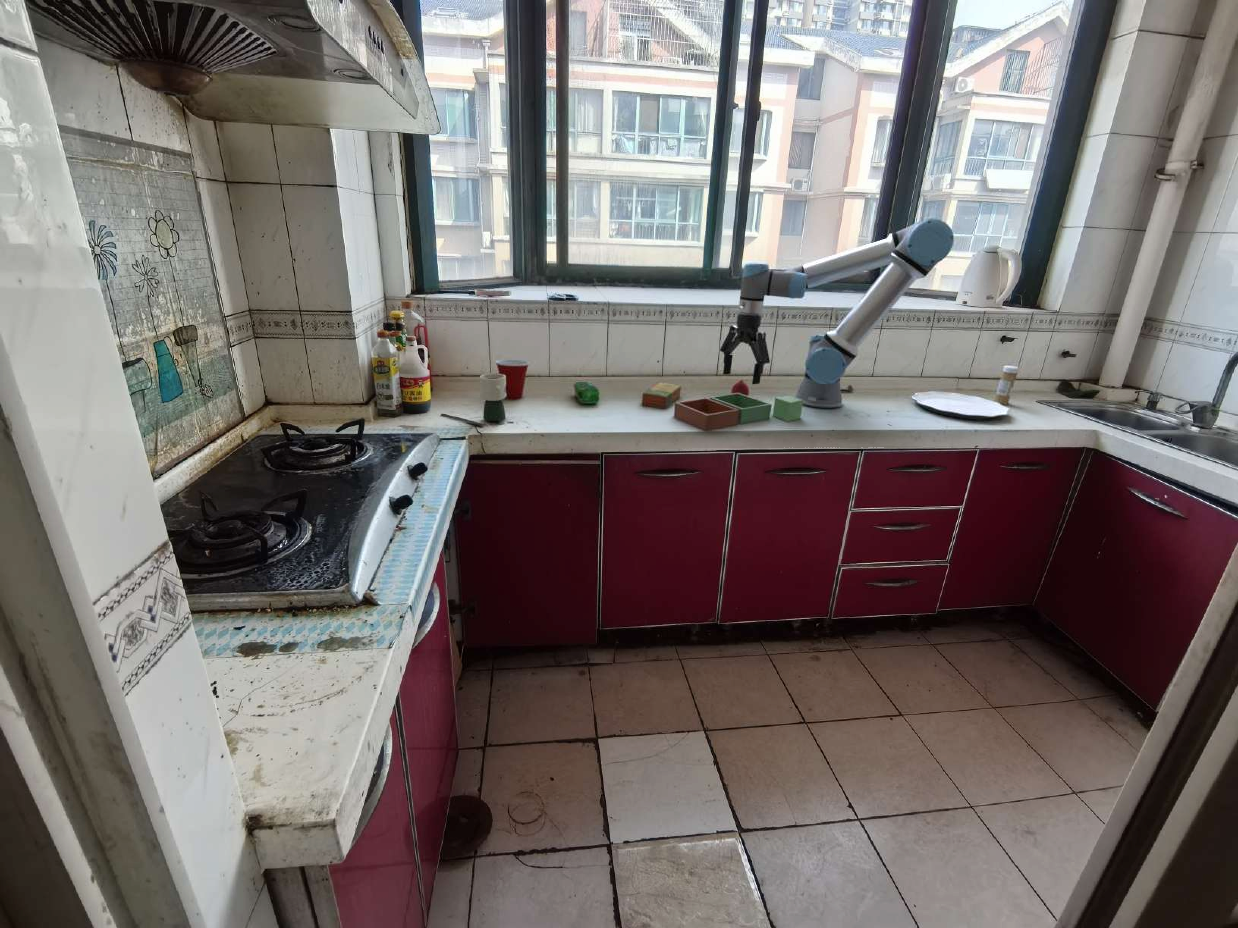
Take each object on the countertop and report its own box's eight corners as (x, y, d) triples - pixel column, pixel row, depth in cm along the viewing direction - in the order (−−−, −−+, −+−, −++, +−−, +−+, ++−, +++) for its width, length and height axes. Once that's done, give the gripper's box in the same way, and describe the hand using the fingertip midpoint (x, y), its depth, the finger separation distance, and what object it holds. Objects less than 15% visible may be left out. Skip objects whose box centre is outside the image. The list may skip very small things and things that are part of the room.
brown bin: (704, 411, 188) (706, 397, 186) (737, 424, 177) (739, 409, 175) (673, 416, 181) (674, 402, 179) (705, 430, 170) (707, 415, 168)
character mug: (513, 424, 168) (512, 379, 163) (489, 427, 165) (487, 381, 160) (499, 413, 177) (498, 370, 172) (476, 416, 173) (474, 372, 168)
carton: (680, 397, 203) (681, 385, 201) (665, 409, 189) (666, 396, 187) (657, 393, 205) (658, 381, 204) (641, 405, 191) (642, 392, 190)
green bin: (736, 406, 195) (738, 392, 194) (769, 418, 184) (771, 404, 182) (708, 411, 189) (709, 397, 187) (740, 424, 178) (742, 409, 176)
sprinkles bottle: (1011, 404, 212) (1022, 368, 207) (1000, 405, 211) (1011, 368, 206) (1000, 401, 216) (1011, 365, 211) (990, 401, 215) (1001, 365, 210)
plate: (967, 426, 185) (969, 419, 184) (892, 401, 210) (894, 394, 209) (1027, 418, 197) (1029, 411, 196) (949, 395, 221) (951, 389, 221)
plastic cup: (534, 394, 198) (534, 359, 193) (522, 403, 188) (522, 365, 183) (504, 391, 200) (503, 356, 195) (491, 399, 190) (489, 362, 185)
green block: (785, 413, 190) (788, 395, 188) (800, 418, 185) (803, 400, 183) (772, 416, 187) (775, 397, 184) (787, 421, 182) (790, 402, 180)
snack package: (593, 393, 202) (593, 378, 200) (600, 406, 188) (601, 390, 186) (572, 393, 201) (572, 378, 199) (578, 406, 187) (578, 390, 185)
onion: (747, 405, 196) (750, 382, 193) (729, 404, 197) (732, 380, 194) (747, 401, 201) (750, 378, 198) (730, 399, 202) (733, 376, 199)
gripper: (714, 308, 196) (707, 371, 204) (771, 320, 177) (760, 389, 185) (730, 307, 200) (723, 369, 208) (788, 319, 181) (777, 386, 189)
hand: (740, 378), depth 196 cm, fingers open, 13 cm apart
